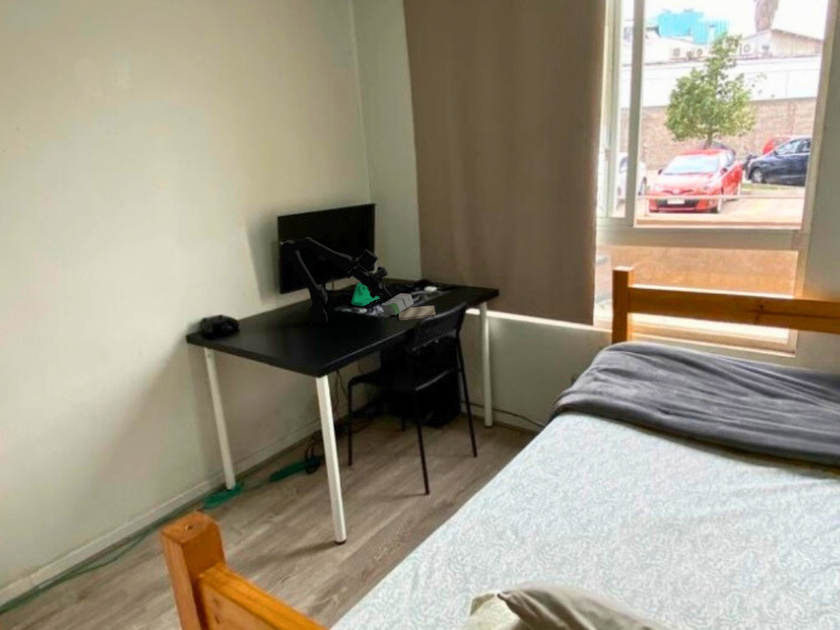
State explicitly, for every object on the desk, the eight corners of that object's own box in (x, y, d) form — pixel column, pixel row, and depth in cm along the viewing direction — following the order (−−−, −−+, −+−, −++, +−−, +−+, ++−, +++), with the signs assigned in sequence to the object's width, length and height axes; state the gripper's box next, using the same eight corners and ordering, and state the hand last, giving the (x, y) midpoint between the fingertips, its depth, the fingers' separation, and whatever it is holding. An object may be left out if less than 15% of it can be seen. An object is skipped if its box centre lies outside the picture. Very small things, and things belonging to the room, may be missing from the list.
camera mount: (362, 308, 269) (359, 287, 266) (352, 306, 274) (349, 286, 271) (380, 302, 277) (378, 281, 274) (370, 300, 282) (368, 280, 279)
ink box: (395, 315, 249) (415, 303, 255) (392, 305, 247) (411, 293, 253) (384, 314, 256) (403, 302, 262) (380, 304, 254) (400, 292, 260)
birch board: (399, 320, 244) (398, 317, 243) (399, 311, 257) (399, 308, 257) (435, 316, 244) (435, 314, 243) (434, 307, 257) (434, 305, 257)
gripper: (374, 266, 234) (403, 289, 238) (376, 258, 252) (403, 279, 255) (357, 287, 237) (386, 309, 240) (361, 277, 255) (388, 298, 258)
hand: (391, 298), depth 248 cm, fingers closed
